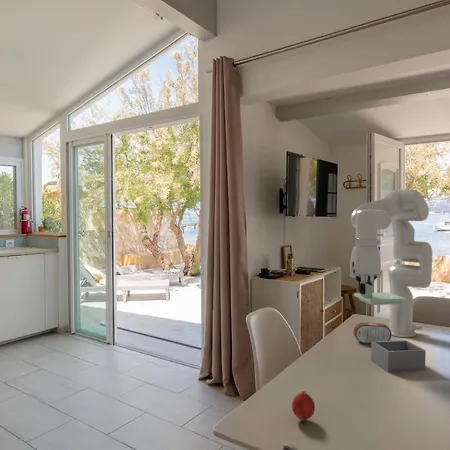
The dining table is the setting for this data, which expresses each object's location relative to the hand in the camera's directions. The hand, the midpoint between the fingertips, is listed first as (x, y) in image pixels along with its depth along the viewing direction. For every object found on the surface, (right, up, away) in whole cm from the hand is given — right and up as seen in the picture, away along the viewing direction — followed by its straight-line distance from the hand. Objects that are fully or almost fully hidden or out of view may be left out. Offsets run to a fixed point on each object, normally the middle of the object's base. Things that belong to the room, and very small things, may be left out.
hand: (365, 293), depth 143 cm
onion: (-31, -26, -42) cm, 59 cm away
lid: (+6, -3, +1) cm, 7 cm away
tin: (+11, -25, +21) cm, 34 cm away
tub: (+10, -25, -3) cm, 27 cm away
